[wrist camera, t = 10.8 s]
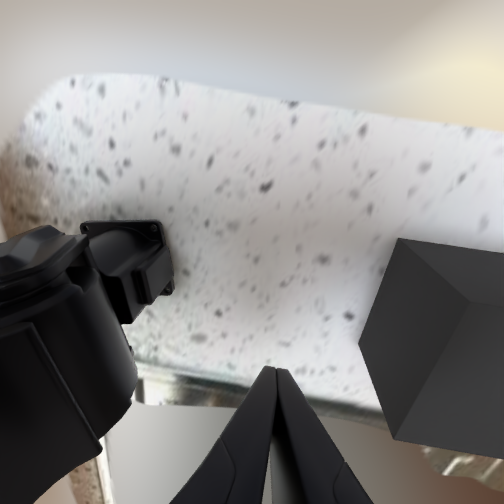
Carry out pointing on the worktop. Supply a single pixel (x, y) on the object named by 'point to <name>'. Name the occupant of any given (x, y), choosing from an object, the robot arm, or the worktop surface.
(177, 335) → the worktop surface
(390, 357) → the black box
